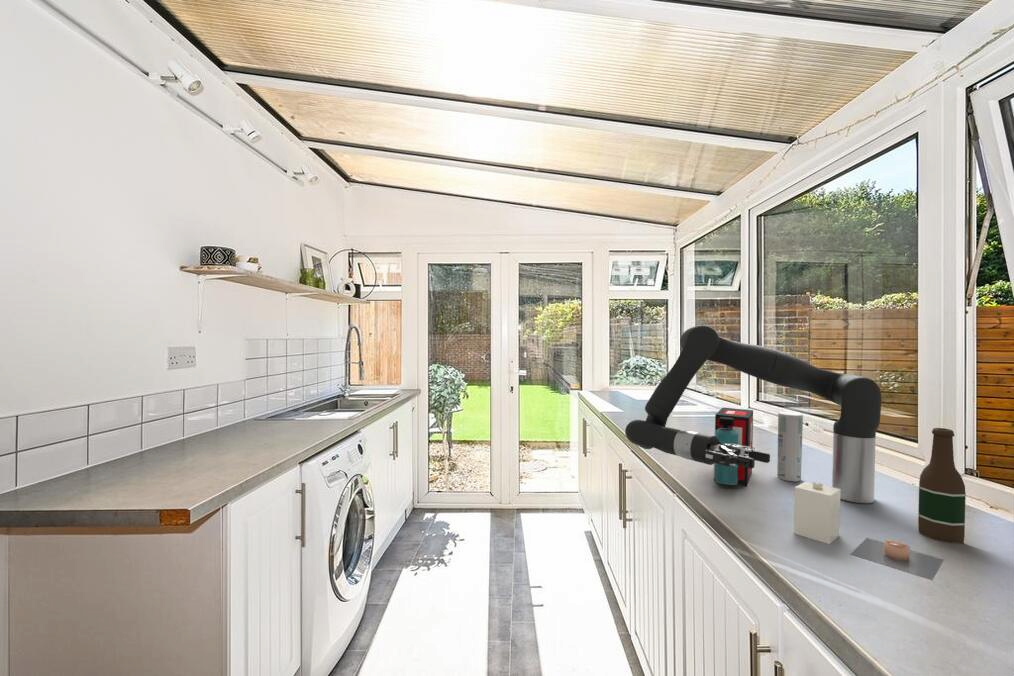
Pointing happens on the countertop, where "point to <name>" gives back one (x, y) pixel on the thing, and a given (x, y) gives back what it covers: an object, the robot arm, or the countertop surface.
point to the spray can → (789, 446)
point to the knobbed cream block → (817, 511)
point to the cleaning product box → (739, 435)
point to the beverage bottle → (725, 437)
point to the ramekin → (896, 550)
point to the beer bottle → (942, 493)
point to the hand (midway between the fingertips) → (761, 461)
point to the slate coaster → (915, 565)
